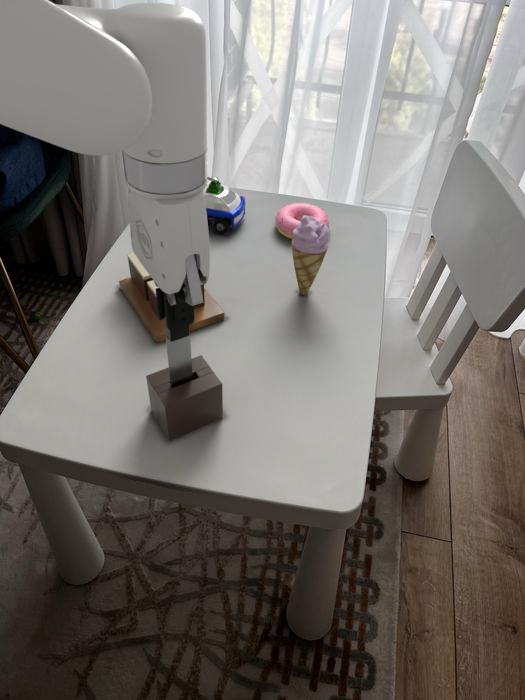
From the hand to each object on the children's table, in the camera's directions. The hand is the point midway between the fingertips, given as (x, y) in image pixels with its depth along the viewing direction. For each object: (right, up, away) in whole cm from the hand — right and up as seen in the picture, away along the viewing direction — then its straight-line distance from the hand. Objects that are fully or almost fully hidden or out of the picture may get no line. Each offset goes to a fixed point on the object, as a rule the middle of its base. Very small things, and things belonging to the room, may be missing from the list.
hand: (176, 318), depth 61 cm
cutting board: (-6, +4, +29) cm, 30 cm away
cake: (-8, +8, +31) cm, 33 cm away
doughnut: (+18, +21, +48) cm, 55 cm away
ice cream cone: (+17, +7, +34) cm, 38 cm away
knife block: (-1, -12, +12) cm, 18 cm away
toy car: (0, +23, +49) cm, 54 cm away
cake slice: (-4, +4, +27) cm, 27 cm away
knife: (-1, -9, +9) cm, 13 cm away
